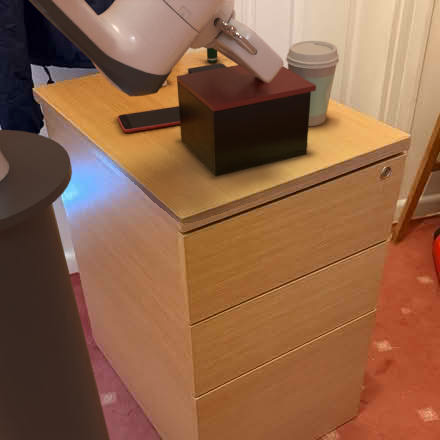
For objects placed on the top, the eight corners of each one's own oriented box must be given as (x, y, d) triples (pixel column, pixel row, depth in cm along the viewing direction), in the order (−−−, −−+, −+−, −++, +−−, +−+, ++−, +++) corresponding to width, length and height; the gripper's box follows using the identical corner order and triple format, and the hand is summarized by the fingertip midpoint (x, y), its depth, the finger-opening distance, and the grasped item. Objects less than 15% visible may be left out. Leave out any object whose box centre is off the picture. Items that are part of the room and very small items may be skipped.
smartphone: (203, 118, 100) (123, 130, 97) (203, 121, 101) (124, 133, 98) (192, 103, 106) (116, 114, 102) (192, 106, 106) (116, 118, 103)
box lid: (270, 63, 94) (271, 58, 93) (315, 90, 84) (316, 85, 84) (176, 81, 89) (176, 75, 88) (213, 111, 79) (213, 106, 79)
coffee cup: (335, 129, 97) (342, 55, 89) (283, 129, 97) (287, 56, 90) (330, 109, 103) (337, 39, 96) (282, 109, 104) (285, 39, 96)
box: (265, 122, 100) (266, 64, 94) (306, 154, 90) (311, 91, 84) (181, 141, 95) (176, 81, 89) (215, 176, 85) (213, 112, 79)
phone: (221, 61, 121) (253, 84, 110) (221, 68, 122) (252, 91, 111) (186, 67, 119) (215, 91, 108) (187, 74, 120) (216, 98, 109)
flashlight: (195, 63, 125) (190, -43, 112) (210, 56, 128) (206, -47, 115) (214, 67, 123) (211, -40, 110) (228, 60, 126) (227, -45, 113)
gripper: (252, 9, 69) (316, 77, 78) (187, -23, 83) (247, 37, 93) (219, 54, 71) (286, 115, 80) (161, 15, 85) (223, 70, 94)
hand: (264, 73), depth 86 cm, fingers closed, pressing on box lid
